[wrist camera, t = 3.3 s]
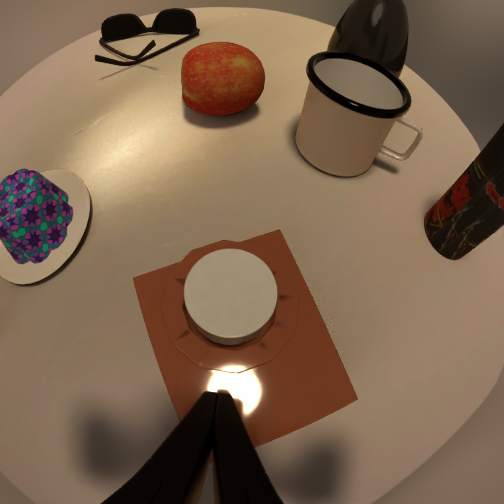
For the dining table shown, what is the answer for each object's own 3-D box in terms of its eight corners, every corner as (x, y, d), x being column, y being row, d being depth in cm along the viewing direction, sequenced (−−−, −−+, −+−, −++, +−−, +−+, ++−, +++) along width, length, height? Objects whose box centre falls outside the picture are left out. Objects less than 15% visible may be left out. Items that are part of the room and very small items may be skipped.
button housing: (335, 398, 20) (371, 399, 15) (204, 451, 18) (196, 474, 12) (271, 254, 24) (284, 214, 19) (147, 296, 22) (124, 266, 17)
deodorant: (458, 271, 25) (567, 186, 12) (415, 231, 27) (512, 123, 13) (473, 233, 27) (562, 149, 14) (435, 197, 29) (514, 98, 15)
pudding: (-3, 305, 20) (-39, 285, 16) (-6, 203, 24) (-31, 175, 20) (104, 256, 23) (79, 225, 18) (84, 157, 27) (68, 120, 23)
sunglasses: (70, 86, 33) (60, 58, 28) (104, 39, 39) (99, 16, 34) (186, 74, 34) (184, 42, 29) (200, 30, 40) (200, 5, 35)
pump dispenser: (368, 63, 39) (396, -16, 26) (403, 104, 35) (445, 17, 22) (309, 59, 38) (330, -32, 24) (340, 102, 34) (377, -5, 20)
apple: (184, 89, 32) (180, 32, 25) (254, 86, 33) (261, 29, 26) (181, 133, 29) (174, 68, 22) (264, 129, 30) (274, 65, 23)
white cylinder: (283, 327, 17) (292, 317, 14) (205, 356, 16) (202, 351, 13) (252, 257, 18) (256, 237, 16) (179, 282, 17) (172, 264, 15)
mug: (277, 160, 28) (293, 83, 20) (302, 106, 32) (319, 40, 24) (393, 207, 27) (440, 145, 19) (399, 146, 31) (433, 88, 23)
